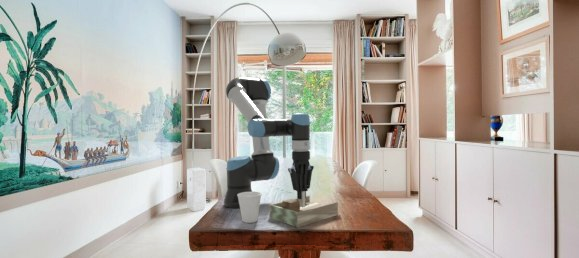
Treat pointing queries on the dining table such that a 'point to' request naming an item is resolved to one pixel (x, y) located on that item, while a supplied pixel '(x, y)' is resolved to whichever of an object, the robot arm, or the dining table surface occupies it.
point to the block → (291, 204)
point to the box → (303, 213)
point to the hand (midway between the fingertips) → (301, 206)
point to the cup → (249, 206)
